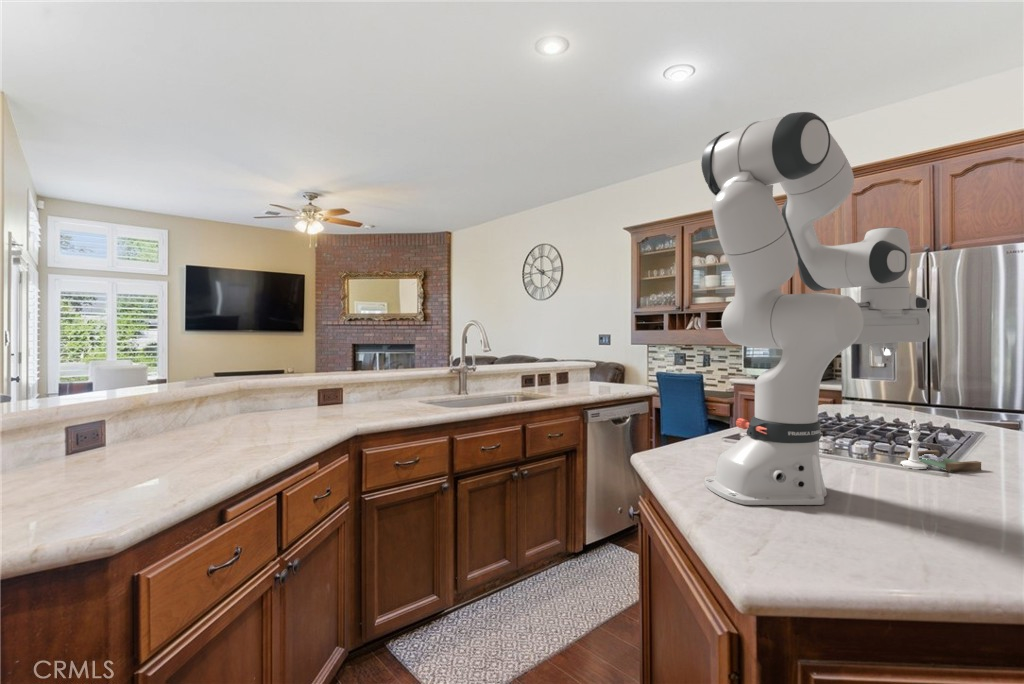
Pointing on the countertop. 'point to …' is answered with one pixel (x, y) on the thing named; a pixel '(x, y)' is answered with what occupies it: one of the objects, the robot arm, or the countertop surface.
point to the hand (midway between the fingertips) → (883, 363)
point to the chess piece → (914, 450)
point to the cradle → (949, 463)
